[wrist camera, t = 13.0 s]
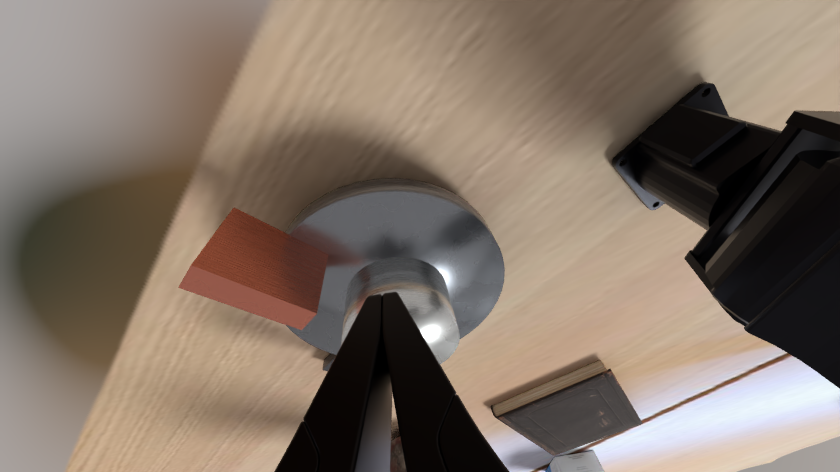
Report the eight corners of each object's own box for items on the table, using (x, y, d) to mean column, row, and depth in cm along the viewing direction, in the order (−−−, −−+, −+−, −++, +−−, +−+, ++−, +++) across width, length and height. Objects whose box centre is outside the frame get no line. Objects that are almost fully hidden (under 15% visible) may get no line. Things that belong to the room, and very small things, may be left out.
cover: (445, 249, 19) (462, 305, 15) (447, 319, 23) (461, 376, 19) (334, 265, 19) (324, 327, 15) (358, 332, 23) (354, 393, 19)
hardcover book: (600, 354, 37) (611, 371, 35) (632, 408, 50) (642, 423, 48) (489, 402, 41) (494, 420, 39) (544, 441, 54) (551, 456, 52)
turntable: (506, 158, 18) (560, 216, 13) (488, 325, 28) (514, 397, 22) (228, 191, 17) (163, 268, 12) (311, 352, 27) (295, 433, 21)
